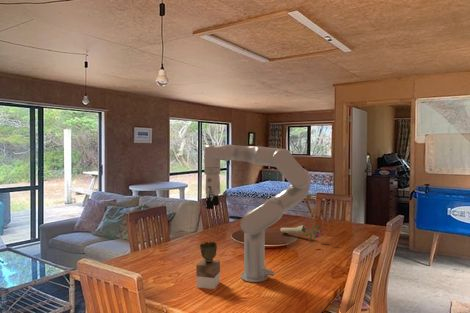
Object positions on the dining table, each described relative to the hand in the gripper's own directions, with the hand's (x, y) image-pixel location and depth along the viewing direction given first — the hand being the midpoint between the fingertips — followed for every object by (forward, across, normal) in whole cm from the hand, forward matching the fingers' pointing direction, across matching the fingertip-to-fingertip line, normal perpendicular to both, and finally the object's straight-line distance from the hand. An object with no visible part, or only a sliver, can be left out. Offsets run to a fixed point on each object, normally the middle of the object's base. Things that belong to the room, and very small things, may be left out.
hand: (212, 207), depth 164 cm
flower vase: (+33, +74, -40) cm, 90 cm away
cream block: (+32, -12, -1) cm, 35 cm away
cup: (+22, -12, -2) cm, 25 cm away
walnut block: (+28, -12, -1) cm, 30 cm away
